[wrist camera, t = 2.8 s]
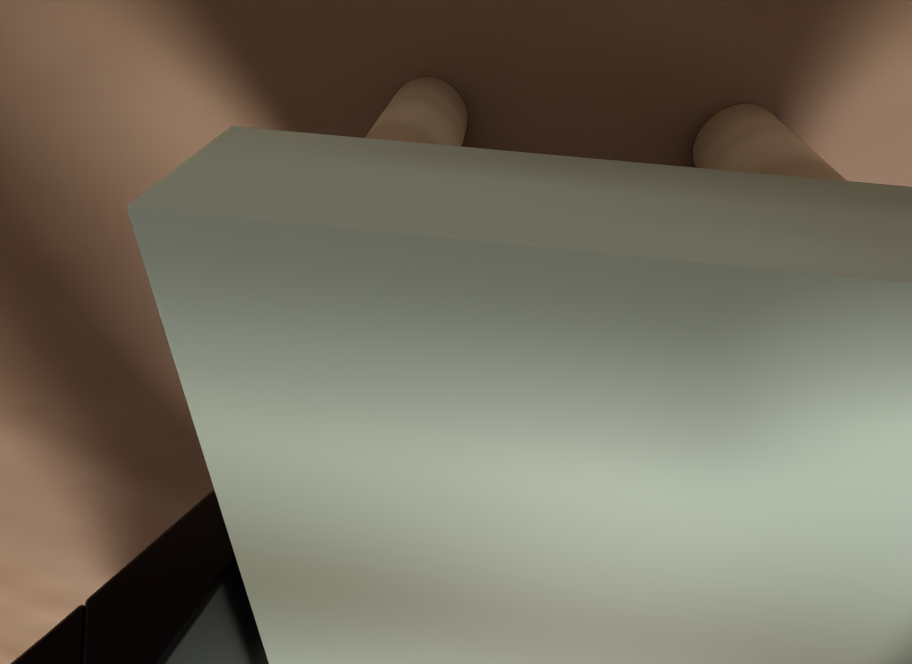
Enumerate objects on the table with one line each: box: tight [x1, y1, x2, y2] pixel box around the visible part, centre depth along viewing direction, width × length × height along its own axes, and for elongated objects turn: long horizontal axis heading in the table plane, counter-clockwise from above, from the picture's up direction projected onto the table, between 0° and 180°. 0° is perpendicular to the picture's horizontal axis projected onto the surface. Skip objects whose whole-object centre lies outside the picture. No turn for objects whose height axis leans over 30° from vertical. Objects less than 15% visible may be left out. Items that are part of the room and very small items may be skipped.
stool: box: [126, 77, 912, 664], centre depth 9 cm, size 10×6×6 cm, turn 177°
